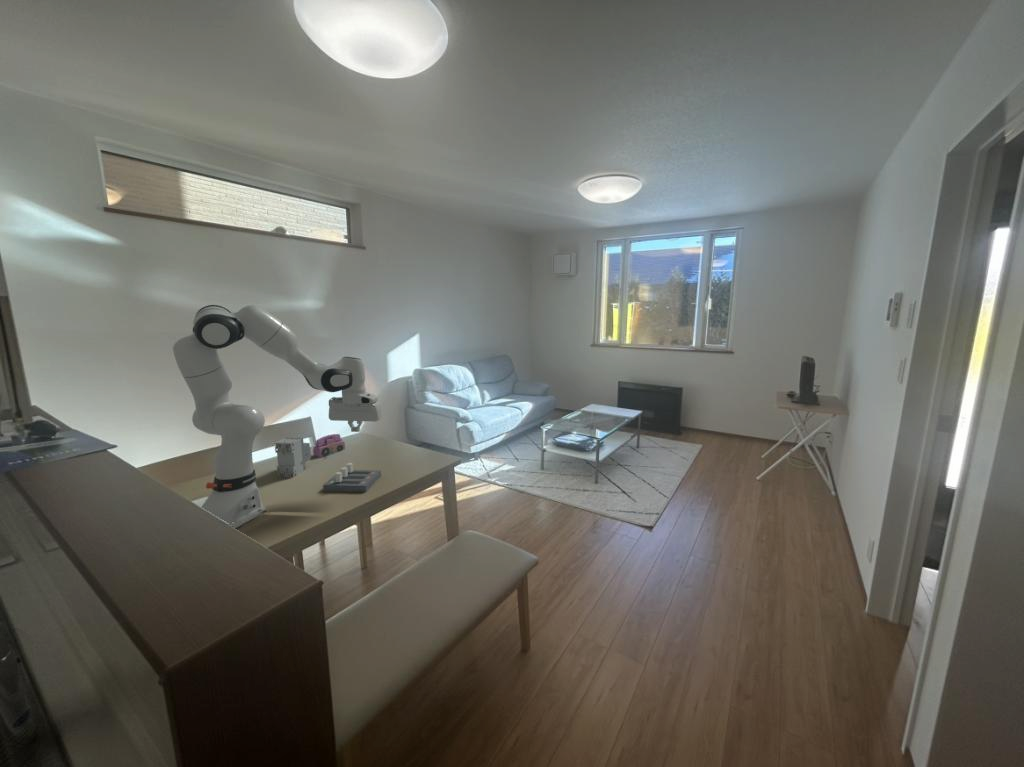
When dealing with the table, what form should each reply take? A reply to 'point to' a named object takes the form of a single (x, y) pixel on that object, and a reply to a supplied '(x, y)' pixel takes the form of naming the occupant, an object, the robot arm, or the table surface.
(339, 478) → the breaker near
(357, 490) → the panel
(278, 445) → the circuit breaker
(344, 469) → the breaker mid
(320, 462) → the table surface
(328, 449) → the pink toy car
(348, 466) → the breaker far
